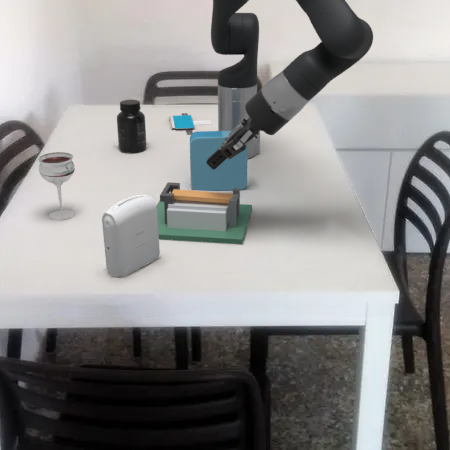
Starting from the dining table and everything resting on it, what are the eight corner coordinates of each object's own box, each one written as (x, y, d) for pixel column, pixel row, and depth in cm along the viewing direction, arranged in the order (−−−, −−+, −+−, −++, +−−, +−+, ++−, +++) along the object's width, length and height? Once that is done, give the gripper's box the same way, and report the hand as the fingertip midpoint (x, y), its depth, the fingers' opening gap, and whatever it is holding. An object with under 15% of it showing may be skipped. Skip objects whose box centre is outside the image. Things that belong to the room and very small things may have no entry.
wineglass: (41, 211, 146) (35, 154, 141) (75, 206, 148) (69, 150, 143) (47, 224, 140) (40, 165, 135) (82, 218, 142) (76, 160, 137)
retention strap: (238, 193, 138) (173, 188, 139) (236, 199, 135) (170, 194, 137) (238, 198, 138) (173, 193, 140) (236, 205, 136) (170, 199, 137)
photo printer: (119, 280, 120) (114, 212, 115) (102, 272, 122) (96, 205, 117) (163, 258, 127) (160, 193, 122) (146, 251, 129) (142, 186, 124)
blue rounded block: (245, 182, 159) (245, 130, 154) (247, 190, 155) (247, 136, 150) (191, 183, 159) (189, 131, 154) (191, 191, 155) (189, 137, 150)
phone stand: (215, 135, 192) (215, 129, 191) (170, 137, 190) (170, 131, 190) (207, 114, 210) (207, 109, 209) (166, 116, 208) (166, 110, 208)
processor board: (252, 209, 146) (252, 177, 143) (242, 244, 132) (242, 210, 129) (160, 204, 148) (158, 173, 146) (140, 238, 134) (138, 204, 131)
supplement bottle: (143, 143, 184) (140, 97, 179) (149, 151, 178) (146, 104, 173) (116, 146, 182) (113, 99, 177) (121, 155, 176) (118, 106, 171)
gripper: (266, 78, 133) (202, 139, 140) (258, 97, 121) (188, 163, 128) (294, 107, 134) (229, 166, 141) (289, 129, 123) (218, 192, 129)
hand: (210, 165), depth 135 cm, fingers closed
